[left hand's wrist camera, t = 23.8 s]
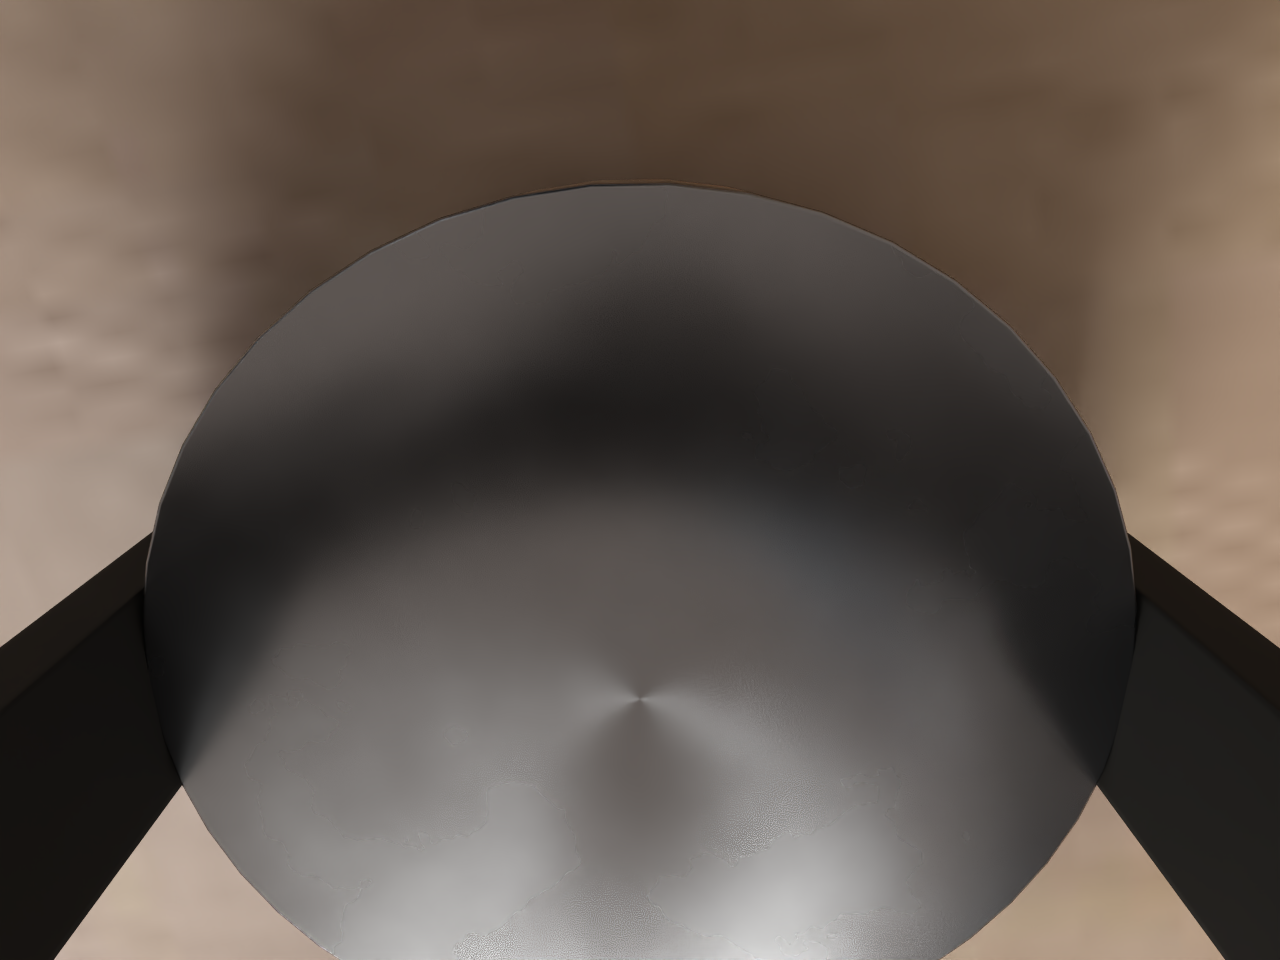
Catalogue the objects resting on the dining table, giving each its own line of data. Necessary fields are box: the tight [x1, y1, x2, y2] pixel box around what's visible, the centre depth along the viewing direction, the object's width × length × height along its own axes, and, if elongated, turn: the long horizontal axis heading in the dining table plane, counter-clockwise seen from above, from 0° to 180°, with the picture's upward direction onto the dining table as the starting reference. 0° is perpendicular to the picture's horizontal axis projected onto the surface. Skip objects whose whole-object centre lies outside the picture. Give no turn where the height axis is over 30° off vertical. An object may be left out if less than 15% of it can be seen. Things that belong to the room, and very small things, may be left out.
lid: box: [142, 179, 1137, 960], centre depth 11 cm, size 12×12×2 cm
